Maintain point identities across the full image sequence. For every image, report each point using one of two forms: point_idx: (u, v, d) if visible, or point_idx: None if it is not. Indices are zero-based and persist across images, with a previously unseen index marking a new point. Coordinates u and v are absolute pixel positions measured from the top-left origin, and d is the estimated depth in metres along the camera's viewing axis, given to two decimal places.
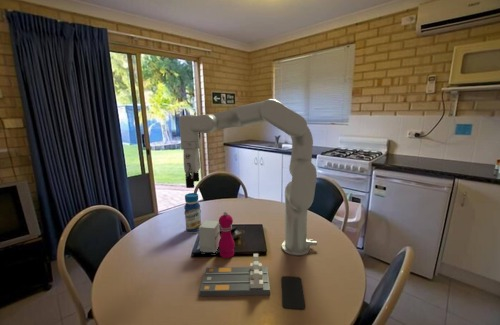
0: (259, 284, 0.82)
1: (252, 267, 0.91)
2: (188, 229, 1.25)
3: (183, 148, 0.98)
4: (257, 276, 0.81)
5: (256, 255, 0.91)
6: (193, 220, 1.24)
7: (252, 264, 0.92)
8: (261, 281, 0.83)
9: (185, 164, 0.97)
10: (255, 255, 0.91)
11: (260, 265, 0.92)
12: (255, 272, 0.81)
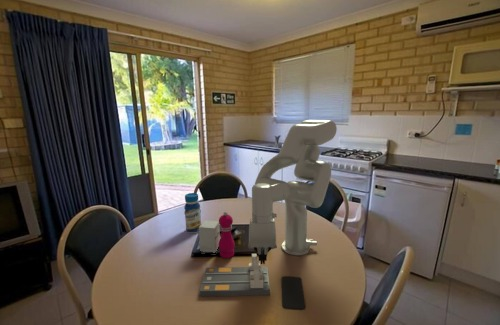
0: (259, 284, 0.82)
1: (251, 267, 0.91)
2: (188, 229, 1.25)
3: (271, 221, 0.86)
4: (257, 276, 0.81)
5: (255, 255, 0.91)
6: (193, 220, 1.24)
7: (251, 264, 0.92)
8: (261, 281, 0.83)
9: None
10: (254, 255, 0.91)
11: (259, 265, 0.92)
12: (255, 272, 0.81)
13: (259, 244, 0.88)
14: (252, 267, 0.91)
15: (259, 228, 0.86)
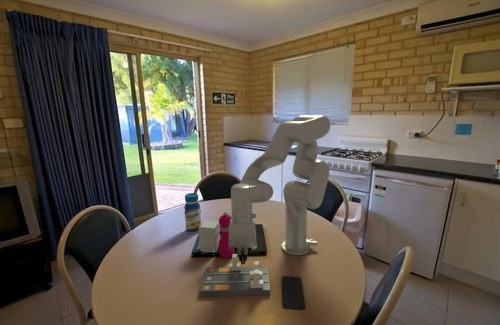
0: (259, 284, 0.82)
1: (231, 267, 0.91)
2: (188, 229, 1.25)
3: (250, 222, 0.86)
4: (257, 276, 0.81)
5: (235, 255, 0.91)
6: (193, 220, 1.24)
7: (231, 264, 0.92)
8: (261, 281, 0.83)
9: (255, 236, 0.88)
10: (234, 255, 0.91)
11: (239, 265, 0.92)
12: (255, 272, 0.81)
13: (239, 244, 0.88)
14: (232, 267, 0.91)
15: (238, 228, 0.86)
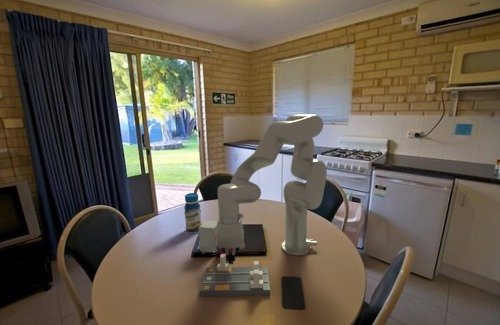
0: (259, 284, 0.82)
1: (219, 268, 0.91)
2: (188, 229, 1.25)
3: (237, 222, 0.86)
4: (257, 276, 0.81)
5: (223, 256, 0.91)
6: (193, 220, 1.24)
7: (219, 265, 0.92)
8: (261, 281, 0.83)
9: (243, 237, 0.88)
10: (222, 256, 0.91)
11: (227, 266, 0.92)
12: (255, 272, 0.81)
13: (226, 245, 0.88)
14: (221, 268, 0.91)
15: (225, 229, 0.86)
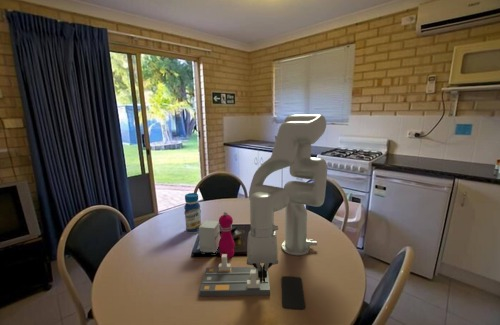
0: (256, 284, 0.82)
1: (220, 268, 0.91)
2: (188, 229, 1.25)
3: (271, 235, 0.77)
4: (254, 276, 0.81)
5: (224, 256, 0.91)
6: (193, 220, 1.24)
7: (221, 265, 0.92)
8: (257, 281, 0.83)
9: (277, 251, 0.79)
10: (223, 256, 0.91)
11: (228, 266, 0.92)
12: (252, 272, 0.81)
13: (259, 260, 0.79)
14: (222, 268, 0.91)
15: (258, 242, 0.77)
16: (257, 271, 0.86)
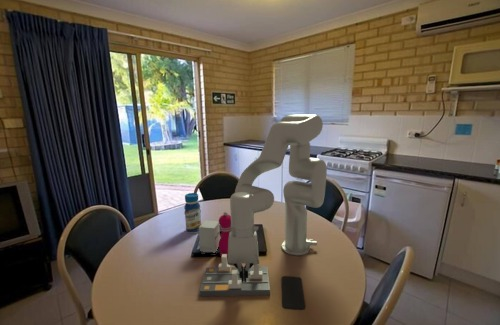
0: (237, 284, 0.82)
1: (220, 268, 0.91)
2: (188, 229, 1.25)
3: (251, 235, 0.77)
4: (235, 276, 0.81)
5: (224, 256, 0.91)
6: (193, 220, 1.24)
7: (221, 265, 0.92)
8: (239, 281, 0.83)
9: None
10: (223, 256, 0.91)
11: (228, 266, 0.92)
12: (233, 272, 0.81)
13: (239, 260, 0.79)
14: (222, 268, 0.91)
15: (239, 243, 0.77)
16: (257, 271, 0.86)
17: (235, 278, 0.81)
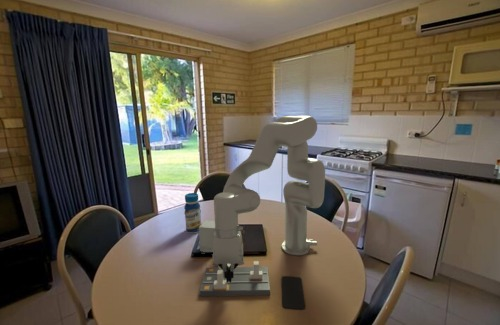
0: (222, 285, 0.82)
1: (220, 268, 0.91)
2: (188, 229, 1.25)
3: (235, 235, 0.77)
4: (220, 277, 0.81)
5: None
6: (193, 220, 1.24)
7: None
8: (224, 281, 0.83)
9: (242, 251, 0.79)
10: None
11: (228, 266, 0.92)
12: (218, 273, 0.81)
13: (223, 260, 0.79)
14: None
15: (223, 243, 0.77)
16: (257, 271, 0.86)
17: (220, 278, 0.81)
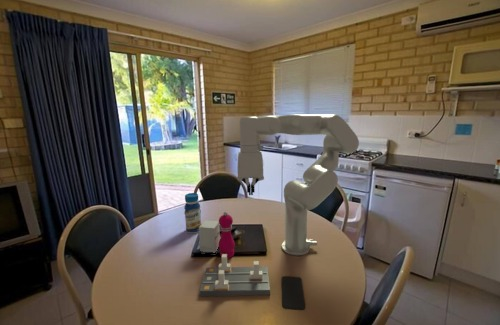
0: (224, 285, 0.82)
1: (220, 268, 0.91)
2: (188, 229, 1.25)
3: (257, 152, 0.91)
4: (221, 277, 0.81)
5: (224, 256, 0.91)
6: (193, 220, 1.24)
7: (221, 265, 0.92)
8: (226, 281, 0.83)
9: None
10: (223, 256, 0.91)
11: (228, 266, 0.92)
12: (219, 273, 0.81)
13: (247, 174, 0.93)
14: (222, 268, 0.91)
15: (247, 158, 0.91)
16: (257, 271, 0.86)
17: (221, 278, 0.81)
